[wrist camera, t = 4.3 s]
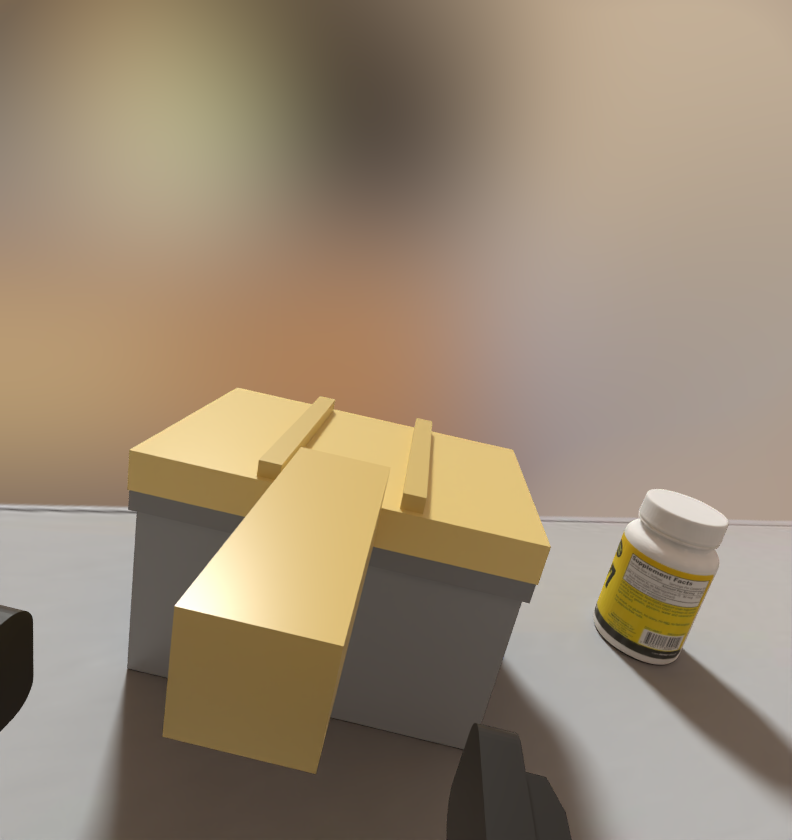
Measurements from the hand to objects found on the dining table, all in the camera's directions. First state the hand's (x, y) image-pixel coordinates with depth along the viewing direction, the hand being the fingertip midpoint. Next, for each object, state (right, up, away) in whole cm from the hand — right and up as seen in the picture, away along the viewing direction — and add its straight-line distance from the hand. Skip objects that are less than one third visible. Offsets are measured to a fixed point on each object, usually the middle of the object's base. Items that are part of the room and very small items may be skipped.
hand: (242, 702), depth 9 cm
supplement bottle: (+16, -8, +20) cm, 27 cm away
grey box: (-1, -5, +15) cm, 16 cm away
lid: (+1, +1, +9) cm, 9 cm away
